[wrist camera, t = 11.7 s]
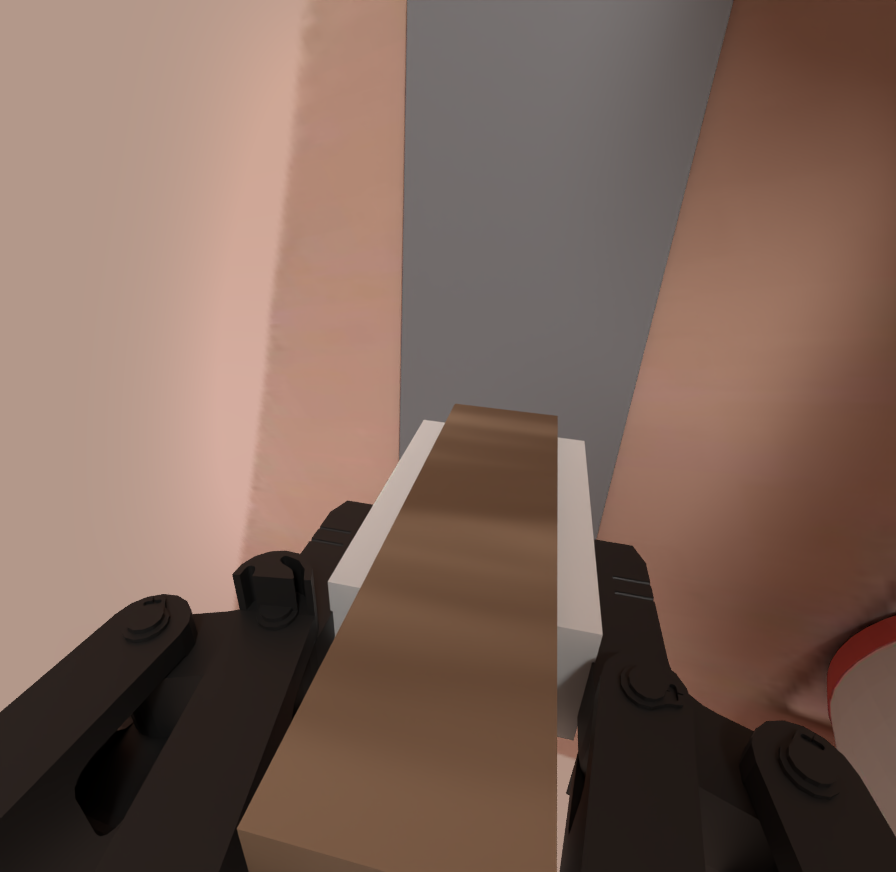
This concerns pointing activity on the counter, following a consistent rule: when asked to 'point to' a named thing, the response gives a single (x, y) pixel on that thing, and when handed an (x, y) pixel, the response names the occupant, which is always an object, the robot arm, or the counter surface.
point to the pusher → (436, 680)
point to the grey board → (544, 203)
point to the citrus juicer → (867, 710)
